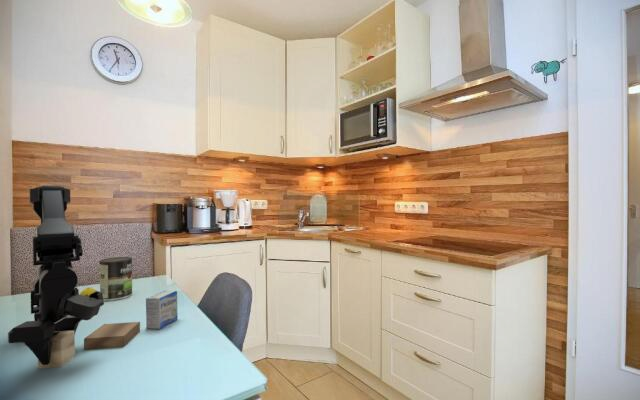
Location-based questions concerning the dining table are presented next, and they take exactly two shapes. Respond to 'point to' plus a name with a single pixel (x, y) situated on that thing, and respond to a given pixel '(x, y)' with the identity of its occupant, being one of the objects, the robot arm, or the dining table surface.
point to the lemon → (87, 291)
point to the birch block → (61, 349)
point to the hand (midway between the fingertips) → (57, 356)
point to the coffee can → (116, 278)
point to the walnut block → (112, 335)
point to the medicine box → (161, 309)
